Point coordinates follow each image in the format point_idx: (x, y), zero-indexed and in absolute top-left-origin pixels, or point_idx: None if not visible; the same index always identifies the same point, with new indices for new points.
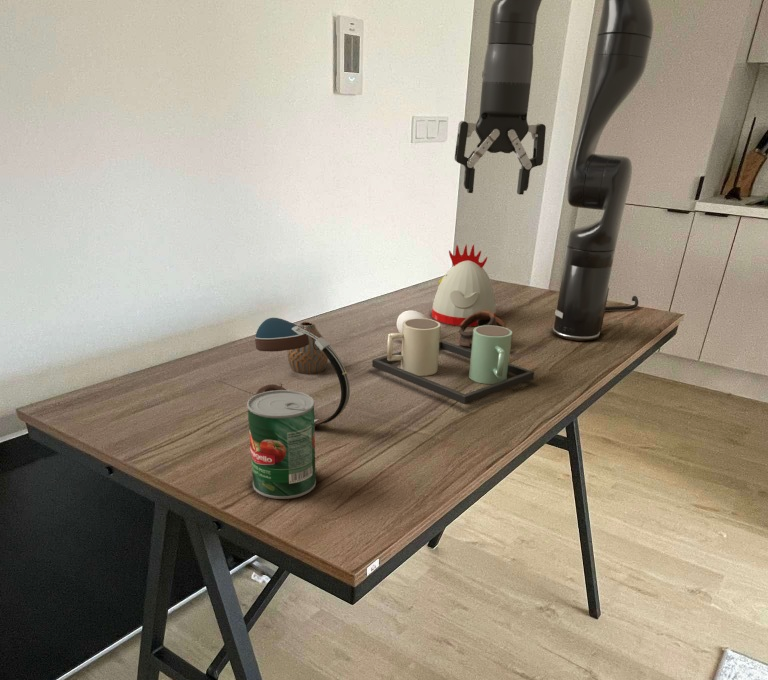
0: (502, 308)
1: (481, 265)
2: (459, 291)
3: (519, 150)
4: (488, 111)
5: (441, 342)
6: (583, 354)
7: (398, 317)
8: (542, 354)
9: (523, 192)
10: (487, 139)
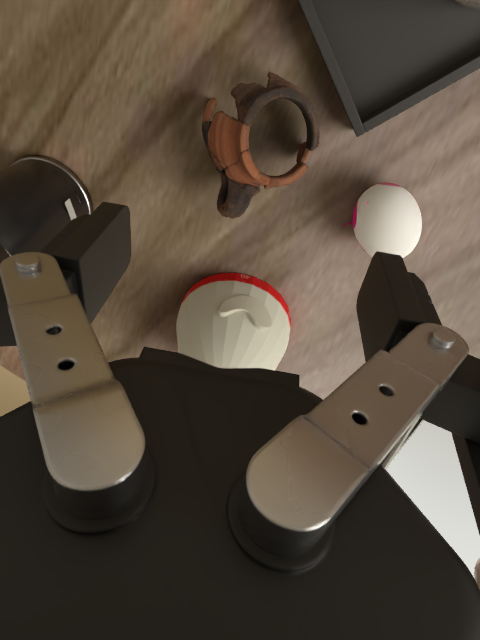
0: (156, 347)
1: None
2: (255, 321)
3: (60, 323)
4: None
5: (363, 122)
6: (51, 72)
7: (417, 242)
8: (139, 84)
9: (105, 203)
10: (371, 445)
